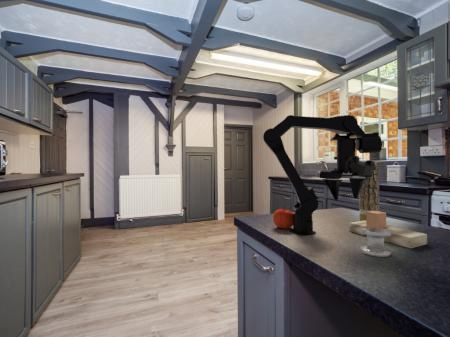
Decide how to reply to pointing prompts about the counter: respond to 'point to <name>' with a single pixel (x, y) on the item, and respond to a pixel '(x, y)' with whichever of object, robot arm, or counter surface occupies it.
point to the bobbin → (375, 242)
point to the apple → (283, 218)
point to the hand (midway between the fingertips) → (346, 199)
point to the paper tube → (369, 193)
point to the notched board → (395, 235)
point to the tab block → (376, 219)
